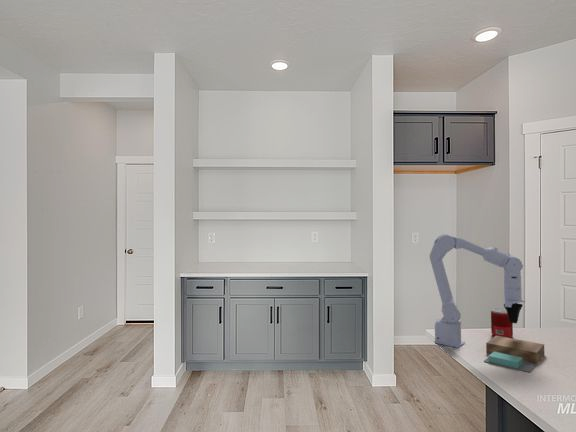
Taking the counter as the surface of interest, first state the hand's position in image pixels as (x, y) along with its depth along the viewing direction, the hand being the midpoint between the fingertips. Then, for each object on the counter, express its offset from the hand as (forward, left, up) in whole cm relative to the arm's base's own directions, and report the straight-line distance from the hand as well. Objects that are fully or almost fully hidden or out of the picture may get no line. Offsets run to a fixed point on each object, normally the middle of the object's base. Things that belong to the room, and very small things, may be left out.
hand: (513, 322), depth 145 cm
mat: (+3, -18, -10) cm, 21 cm away
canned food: (-8, +14, -10) cm, 19 cm away
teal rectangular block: (+2, -19, -8) cm, 21 cm away
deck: (+2, -7, -10) cm, 12 cm away
